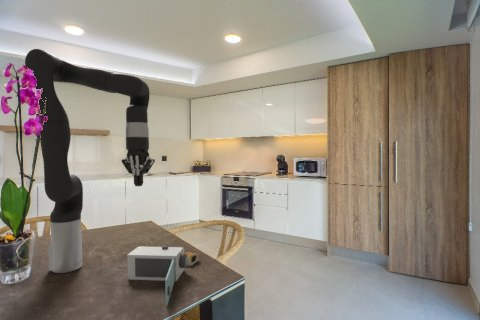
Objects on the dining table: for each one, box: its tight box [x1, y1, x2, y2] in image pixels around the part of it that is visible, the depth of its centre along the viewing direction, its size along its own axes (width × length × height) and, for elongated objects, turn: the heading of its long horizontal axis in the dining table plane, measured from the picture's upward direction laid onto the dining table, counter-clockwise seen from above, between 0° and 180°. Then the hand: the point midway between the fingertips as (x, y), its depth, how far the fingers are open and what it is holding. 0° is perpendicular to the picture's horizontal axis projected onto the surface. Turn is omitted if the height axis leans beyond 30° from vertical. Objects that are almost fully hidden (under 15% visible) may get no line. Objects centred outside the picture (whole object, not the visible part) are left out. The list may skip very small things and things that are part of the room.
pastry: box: [184, 251, 200, 267], centre depth 106 cm, size 9×7×4 cm
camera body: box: [126, 244, 188, 282], centre depth 95 cm, size 18×8×9 cm, turn 84°
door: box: [164, 258, 177, 306], centre depth 82 cm, size 15×1×7 cm, turn 5°
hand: (138, 185), depth 100 cm, fingers closed
